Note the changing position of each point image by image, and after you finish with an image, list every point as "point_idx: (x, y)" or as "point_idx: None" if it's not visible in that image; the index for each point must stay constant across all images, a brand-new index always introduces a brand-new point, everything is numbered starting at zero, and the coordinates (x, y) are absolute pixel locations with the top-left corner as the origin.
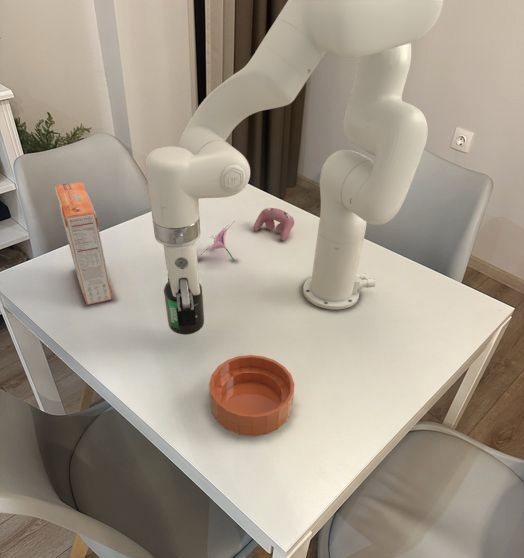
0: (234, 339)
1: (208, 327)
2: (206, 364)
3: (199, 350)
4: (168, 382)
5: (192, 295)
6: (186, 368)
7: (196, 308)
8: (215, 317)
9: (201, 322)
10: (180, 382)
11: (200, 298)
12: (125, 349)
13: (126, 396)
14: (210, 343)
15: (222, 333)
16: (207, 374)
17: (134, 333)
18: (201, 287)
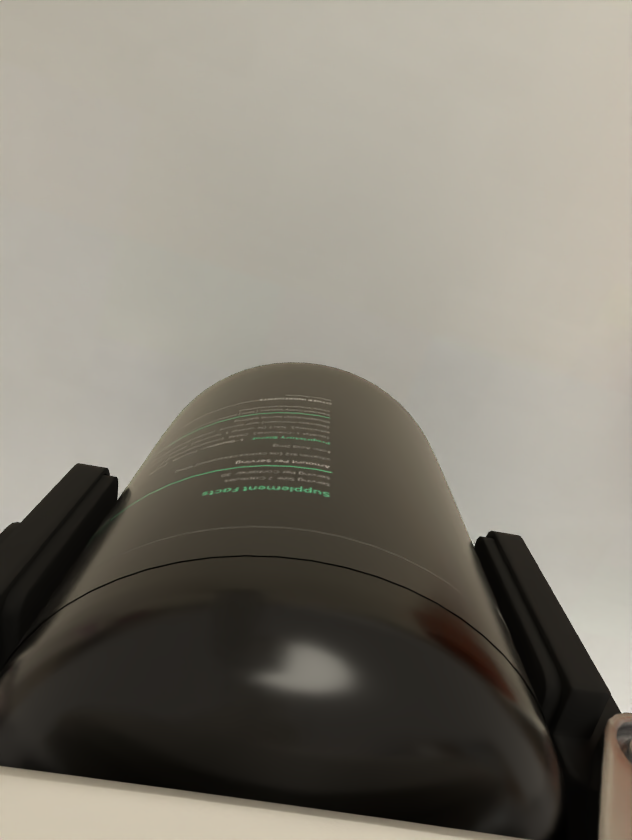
0: (380, 109)
1: (198, 256)
2: (535, 376)
3: (400, 379)
4: (572, 592)
5: (561, 828)
6: (515, 488)
7: (491, 590)
8: (99, 169)
9: (415, 429)
10: (601, 542)
11: (469, 592)
12: None
13: None
14: (361, 294)
15: (289, 178)
16: (616, 395)
17: None
18: (346, 615)
